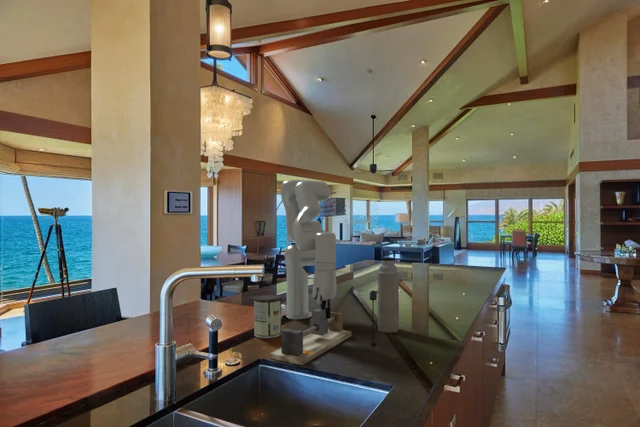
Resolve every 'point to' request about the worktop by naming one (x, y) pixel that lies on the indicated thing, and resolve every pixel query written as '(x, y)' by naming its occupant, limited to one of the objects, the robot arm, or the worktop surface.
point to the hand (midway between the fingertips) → (325, 318)
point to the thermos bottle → (388, 296)
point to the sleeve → (319, 322)
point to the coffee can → (267, 316)
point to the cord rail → (309, 342)
